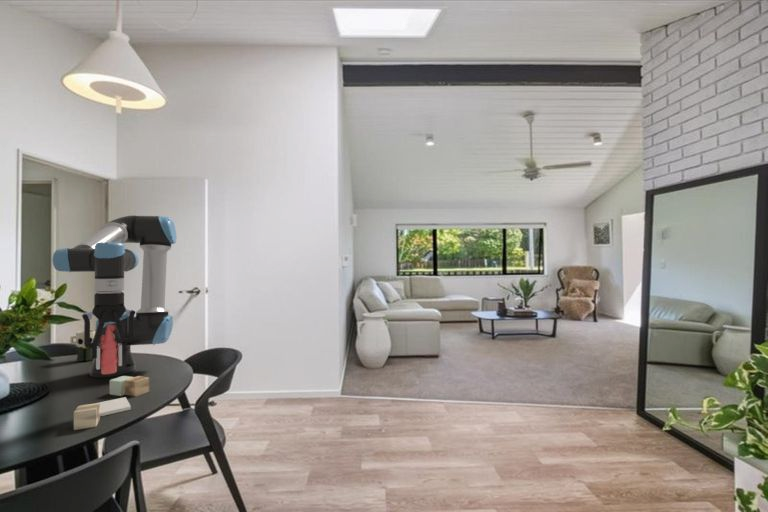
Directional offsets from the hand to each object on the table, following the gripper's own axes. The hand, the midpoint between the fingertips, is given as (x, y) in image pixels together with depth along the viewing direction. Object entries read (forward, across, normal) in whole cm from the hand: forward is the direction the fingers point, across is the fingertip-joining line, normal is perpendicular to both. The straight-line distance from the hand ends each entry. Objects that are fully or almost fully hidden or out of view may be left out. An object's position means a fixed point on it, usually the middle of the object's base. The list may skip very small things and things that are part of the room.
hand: (109, 366), depth 118 cm
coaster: (+13, 0, 0) cm, 13 cm away
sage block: (+13, +5, +14) cm, 20 cm away
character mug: (+13, -1, +70) cm, 72 cm away
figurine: (+2, 0, 0) cm, 2 cm away
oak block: (+13, +9, +10) cm, 19 cm away
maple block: (+13, -6, -9) cm, 17 cm away
